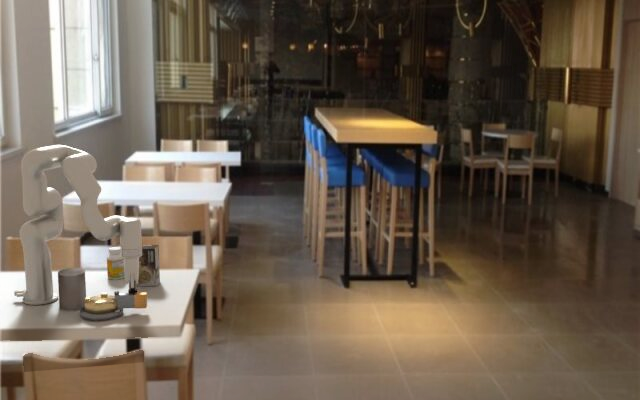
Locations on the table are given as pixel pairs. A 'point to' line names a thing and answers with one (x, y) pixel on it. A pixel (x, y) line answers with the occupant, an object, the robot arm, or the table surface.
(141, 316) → the table surface
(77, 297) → the pillar candle
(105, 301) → the gold disc lever
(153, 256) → the coffee box
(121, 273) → the supplement bottle
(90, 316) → the base plate
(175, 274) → the table surface
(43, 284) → the robot arm
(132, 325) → the table surface
